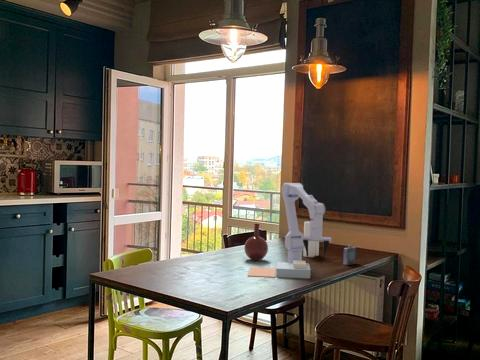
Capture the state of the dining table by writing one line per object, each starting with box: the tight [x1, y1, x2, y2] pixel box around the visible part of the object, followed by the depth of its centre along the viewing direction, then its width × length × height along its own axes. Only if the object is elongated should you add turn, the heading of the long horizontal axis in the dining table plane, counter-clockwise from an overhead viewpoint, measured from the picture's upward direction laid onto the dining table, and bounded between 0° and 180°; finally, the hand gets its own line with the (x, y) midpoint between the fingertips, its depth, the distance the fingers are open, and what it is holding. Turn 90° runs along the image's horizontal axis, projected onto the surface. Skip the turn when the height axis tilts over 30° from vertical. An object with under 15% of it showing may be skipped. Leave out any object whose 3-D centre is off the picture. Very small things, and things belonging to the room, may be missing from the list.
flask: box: [342, 243, 357, 266], centre depth 262 cm, size 9×3×11 cm, turn 129°
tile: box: [293, 260, 306, 268], centre depth 234 cm, size 8×6×2 cm
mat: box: [247, 266, 277, 279], centre depth 236 cm, size 18×13×1 cm
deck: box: [275, 261, 311, 279], centre depth 234 cm, size 15×16×4 cm
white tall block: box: [302, 221, 320, 258], centre depth 284 cm, size 11×7×20 cm, turn 146°
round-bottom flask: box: [243, 223, 269, 261], centre depth 266 cm, size 13×13×20 cm
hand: (315, 256), depth 232 cm, fingers open, 7 cm apart
